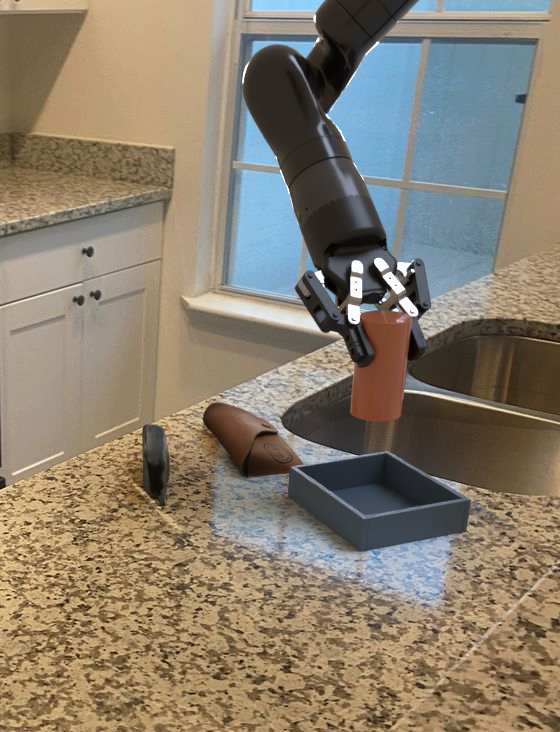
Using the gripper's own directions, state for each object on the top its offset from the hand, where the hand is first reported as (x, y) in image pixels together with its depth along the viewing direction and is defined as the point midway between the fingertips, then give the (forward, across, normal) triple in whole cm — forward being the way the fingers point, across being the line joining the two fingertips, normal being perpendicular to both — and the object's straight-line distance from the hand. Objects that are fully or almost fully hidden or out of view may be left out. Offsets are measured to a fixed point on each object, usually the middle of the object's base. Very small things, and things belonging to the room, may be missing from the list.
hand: (392, 359), depth 100 cm
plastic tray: (+12, 0, +13) cm, 17 cm away
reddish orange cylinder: (+3, 0, +6) cm, 6 cm away
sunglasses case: (-3, -3, +28) cm, 28 cm away
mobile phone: (0, -18, +25) cm, 30 cm away
